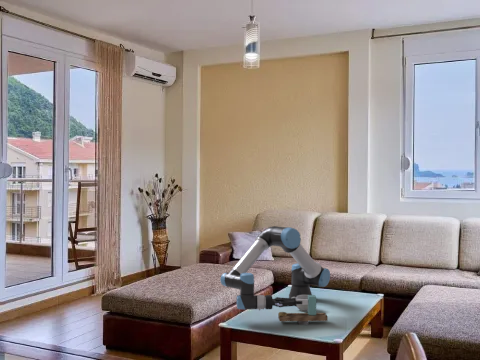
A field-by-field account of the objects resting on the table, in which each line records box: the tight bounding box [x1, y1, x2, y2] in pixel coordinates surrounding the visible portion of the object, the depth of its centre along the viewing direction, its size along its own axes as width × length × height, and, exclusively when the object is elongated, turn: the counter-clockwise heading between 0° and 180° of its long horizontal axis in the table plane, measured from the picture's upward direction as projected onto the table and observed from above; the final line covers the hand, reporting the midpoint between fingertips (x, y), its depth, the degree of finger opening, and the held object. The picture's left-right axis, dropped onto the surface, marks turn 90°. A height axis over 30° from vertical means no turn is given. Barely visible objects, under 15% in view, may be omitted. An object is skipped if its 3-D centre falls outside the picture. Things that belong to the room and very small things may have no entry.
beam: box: [277, 311, 329, 326], centre depth 288 cm, size 26×7×6 cm, turn 92°
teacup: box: [292, 295, 308, 312], centre depth 314 cm, size 14×11×8 cm
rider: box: [307, 294, 317, 315], centre depth 288 cm, size 4×4×12 cm
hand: (307, 302), depth 288 cm, fingers closed
